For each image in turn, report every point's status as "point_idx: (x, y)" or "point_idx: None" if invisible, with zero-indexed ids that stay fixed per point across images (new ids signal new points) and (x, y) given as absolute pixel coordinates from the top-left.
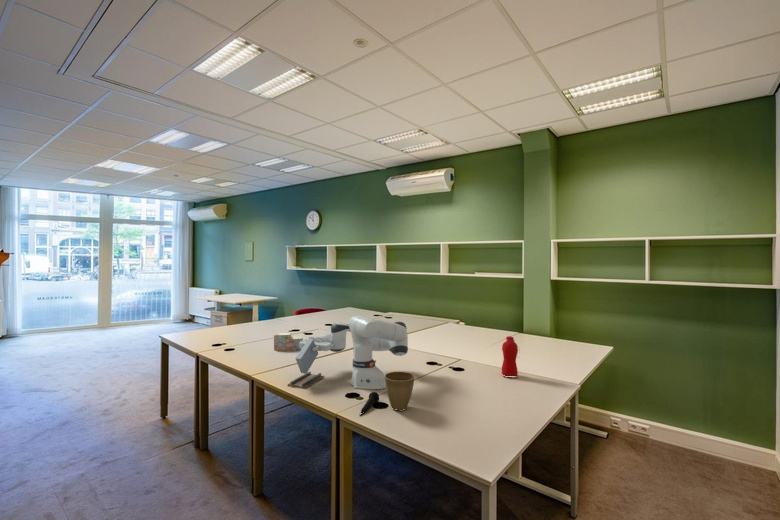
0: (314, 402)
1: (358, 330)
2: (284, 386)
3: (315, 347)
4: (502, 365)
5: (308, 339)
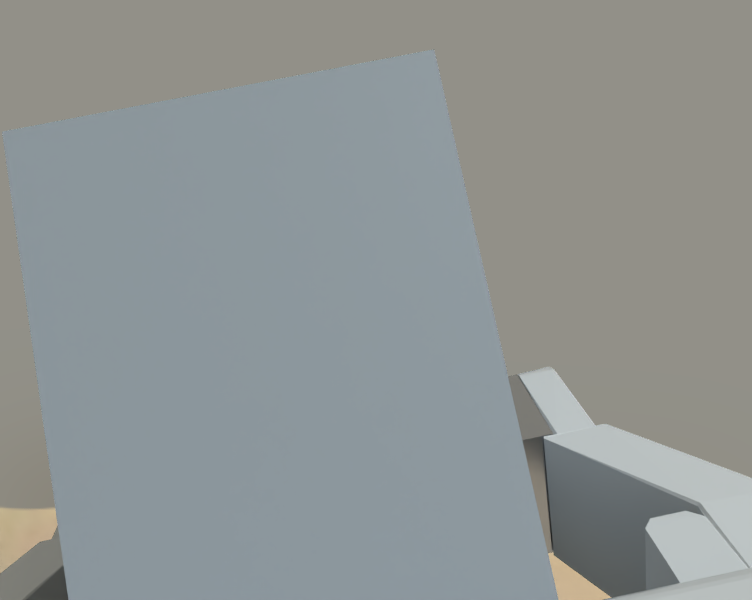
0: (44, 512)
1: None
2: (571, 592)
3: (24, 577)
4: None
5: (384, 86)
